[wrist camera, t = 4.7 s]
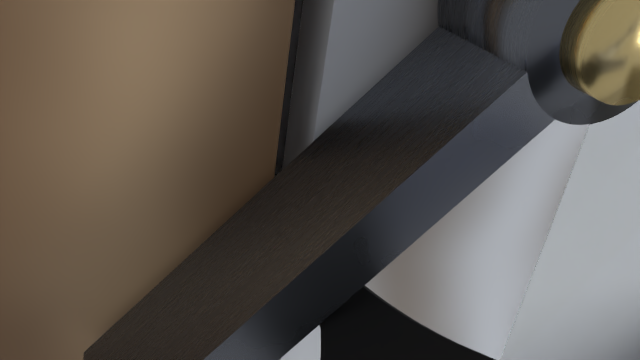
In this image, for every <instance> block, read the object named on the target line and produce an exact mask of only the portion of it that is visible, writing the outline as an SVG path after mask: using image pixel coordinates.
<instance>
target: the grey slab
mask: <svg viewBox="0 0 640 360" xmlns="http://www.w3.org/2000/svg"><path fill="white" fill-rule="evenodd" d="M294 6H295V0H0V360H83V356H84V352H85V351H86V350H87V349H88V348H89V347H90V346H91V345H92V344H93V343H94V342H95V341H97V340H98V339H99V338H100V337H101V336H102V335H103V334H104V333H105V332H106V331H107V330H109V329H110V328H111V327H112V326H113V325H114V324H115V323H116V322H117V321H118V320H119V319H121V318H122V317H123V316H124V315H125V314H126V313H127V312H128V311H129V310H130V309H131V308H132V307H134V306H135V305H136V304H137V303H138V302H139V301H140V300H141V299H142V298H143V297H144V296H146V295H147V294H148V293H149V292H150V291H151V290H152V289H153V288H154V287H155V286H156V285H158V284H159V283H160V282H161V281H162V280H163V279H164V278H165V277H166V276H167V275H168V274H170V273H171V272H172V271H173V270H174V269H175V268H176V267H177V266H178V265H179V264H180V263H182V262H183V261H184V260H185V259H186V258H187V257H188V256H189V255H190V254H191V253H192V252H193V251H195V250H196V249H197V248H198V247H199V246H200V245H201V244H202V243H203V242H204V241H205V240H207V239H208V238H209V237H210V236H211V235H212V234H213V233H214V232H215V231H216V230H217V229H219V228H220V227H221V226H222V225H223V224H224V223H225V222H226V221H227V220H228V219H229V218H231V217H232V216H233V215H234V214H235V213H236V212H237V211H238V210H239V209H240V208H241V207H243V206H244V205H245V204H246V203H247V202H248V201H249V200H250V199H251V198H252V197H253V196H254V195H256V194H257V193H258V192H259V191H260V190H261V189H262V188H263V187H264V186H265V185H266V184H268V183H269V182H270V181H271V180H272V179H273V178H274V174H275V166H276V157H277V149H278V141H279V132H280V124H281V115H282V107H283V99H284V90H285V82H286V73H287V65H288V56H289V48H290V40H291V31H292V23H293V14H294ZM438 27H439V24H438V0H303V6H302V14H301V22H300V30H299V38H298V46H297V54H296V62H295V70H294V78H293V86H292V94H291V102H290V110H289V118H288V126H287V134H286V142H285V150H284V158H283V166H282V170H283V169H284V168H285V167H286V166H287V165H288V164H289V163H290V162H292V161H293V160H294V159H295V158H296V157H297V156H298V155H299V154H300V153H301V152H302V151H304V150H305V149H306V148H307V147H308V146H309V145H310V144H311V143H312V142H313V141H314V140H315V139H317V138H318V137H319V136H320V135H321V134H322V133H323V132H324V131H325V130H326V129H327V128H329V127H330V126H331V125H332V124H333V123H334V122H335V121H336V120H337V119H338V118H339V117H341V116H342V115H343V114H344V113H345V112H346V111H347V110H348V109H349V108H350V107H351V106H353V105H354V104H355V103H356V102H357V101H358V100H359V99H360V98H361V97H362V96H363V95H365V94H366V93H367V92H368V91H369V90H370V89H371V88H372V87H373V86H374V85H375V84H376V83H378V82H379V81H380V80H381V79H382V78H383V77H384V76H385V75H386V74H387V73H388V72H390V71H391V70H392V69H393V68H394V67H395V66H396V65H397V64H398V63H399V62H400V61H402V60H403V59H404V58H405V57H406V56H407V55H408V54H409V53H410V52H411V51H412V50H414V49H415V48H416V47H417V46H418V45H419V44H420V43H421V42H422V41H423V40H424V39H426V38H427V37H428V36H429V35H430V34H431V33H432V32H433V31H434V30H435V29H436V28H438ZM589 126H590V124H587V125H572V124H567V123H563V122H560V121H558V120H554V121H553V122H552V123H551V124H550V125H548V126H547V127H546V128H545V129H544V130H543V131H541V132H540V133H539V134H538V135H537V136H536V137H535V138H533V139H532V140H531V141H530V142H529V143H528V144H527V145H525V146H524V147H523V148H522V149H521V150H520V151H518V152H517V153H516V154H515V155H514V156H513V157H512V158H510V159H509V160H508V161H507V162H506V163H505V164H504V165H502V166H501V167H500V168H499V169H498V170H497V171H495V172H494V173H493V174H492V175H491V176H490V177H489V178H487V179H486V180H485V181H484V182H483V183H482V184H481V185H479V186H478V187H477V188H476V189H475V190H474V191H473V192H471V193H470V194H469V195H468V196H467V197H466V198H464V199H463V200H462V201H461V202H460V203H459V204H458V205H456V206H455V207H454V208H453V209H452V210H451V211H450V212H448V213H447V214H446V215H445V216H444V217H443V218H441V219H440V220H439V221H438V222H437V223H436V224H435V225H433V226H432V227H431V228H430V229H429V230H428V231H427V232H425V233H424V234H423V235H422V236H421V237H420V238H418V239H417V240H416V241H415V242H414V243H413V244H412V245H410V246H409V247H408V248H407V249H406V250H405V251H404V252H402V253H401V254H400V255H399V256H398V257H397V258H395V259H394V260H393V261H392V262H391V263H390V264H389V265H387V266H386V267H385V268H384V269H383V270H382V271H381V272H379V273H378V274H377V275H376V276H375V277H374V278H373V279H371V280H370V281H369V282H368V283H367V284H366V285H365V286H366V287H368V288H369V289H370V290H372V291H373V292H374V293H375V294H377V295H378V296H379V297H381V298H382V299H383V300H385V301H386V302H388V303H389V304H391V305H392V306H394V307H395V308H397V309H398V310H400V311H401V312H403V313H404V314H406V315H407V316H409V317H410V318H412V319H414V320H415V321H417V322H419V323H420V324H422V325H424V326H426V327H427V328H429V329H431V330H433V331H435V332H436V333H438V334H440V335H442V336H444V337H446V338H448V339H450V340H452V341H454V342H456V343H458V344H461V345H463V346H465V347H468V348H470V349H472V350H475V351H477V352H479V353H482V354H484V355H486V356H489V357H491V358H493V359H496V360H500V359H501V357H502V354H503V351H504V349H505V346H506V344H507V341H508V338H509V336H510V333H511V330H512V328H513V325H514V323H515V320H516V317H517V315H518V312H519V309H520V307H521V304H522V302H523V299H524V296H525V294H526V291H527V288H528V286H529V283H530V281H531V278H532V275H533V273H534V270H535V267H536V265H537V262H538V260H539V257H540V254H541V252H542V249H543V246H544V244H545V241H546V239H547V236H548V233H549V231H550V228H551V225H552V223H553V220H554V217H555V215H556V212H557V210H558V207H559V204H560V202H561V199H562V196H563V194H564V191H565V189H566V186H567V183H568V181H569V178H570V175H571V173H572V170H573V168H574V165H575V162H576V160H577V157H578V154H579V152H580V149H581V147H582V144H583V141H584V139H585V136H586V133H587V131H588V128H589ZM320 358H321V329H320V326H319V325H318V326H317V327H316V328H315V329H314V330H313V331H312V332H310V333H309V334H308V335H307V336H306V337H305V338H304V339H302V340H301V341H300V342H299V343H298V344H297V345H296V346H294V347H293V348H292V349H291V350H290V351H289V352H287V353H286V354H285V355H284V356H283V357H282V358H281V359H279V360H320Z"/></svg>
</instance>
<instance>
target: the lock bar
mask: <svg viewBox="0 0 640 360" xmlns="http://www.w3.org/2000/svg"><path fill="white" fill-rule="evenodd" d="M438 24H439V27H438V28H436V29H435V30H434V31H433V32H432V33H431V34H430V35H429V36H428V37H427V38H426V39H424V40H423V41H422V42H421V43H420V44H419V45H418V46H417V47H416V48H415V49H414V50H412V51H411V52H410V53H409V54H408V55H407V56H406V57H405V58H404V59H403V60H402V61H400V62H399V63H398V64H397V65H396V66H395V67H394V68H393V69H392V70H391V71H390V72H388V73H387V74H386V75H385V76H384V77H383V78H382V79H381V80H380V81H379V82H378V83H376V84H375V85H374V86H373V87H372V88H371V89H370V90H369V91H368V92H367V93H366V94H365V95H363V96H362V97H361V98H360V99H359V100H358V101H357V102H356V103H355V104H354V105H353V106H351V107H350V108H349V109H348V110H347V111H346V112H345V113H344V114H343V115H342V116H341V117H339V118H338V119H337V120H336V121H335V122H334V123H333V124H332V125H331V126H330V127H329V128H327V129H326V130H325V131H324V132H323V133H322V134H321V135H320V136H319V137H318V138H317V139H315V140H314V141H313V142H312V143H311V144H310V145H309V146H308V147H307V148H306V149H305V150H304V151H302V152H301V153H300V154H299V155H298V156H297V157H296V158H295V159H294V160H293V161H292V162H290V163H289V164H288V165H287V166H286V167H285V168H284V169H283V170H282V171H281V172H280V173H278V174H277V175H276V176H275V177H274V178H273V179H272V180H271V181H270V182H269V183H268V184H266V185H265V186H264V187H263V188H262V189H261V190H260V191H259V192H258V193H257V194H256V195H254V196H253V197H252V198H251V199H250V200H249V201H248V202H247V203H246V204H245V205H244V206H243V207H241V208H240V209H239V210H238V211H237V212H236V213H235V214H234V215H233V216H232V217H231V218H229V219H228V220H227V221H226V222H225V223H224V224H223V225H222V226H221V227H220V228H219V229H217V230H216V231H215V232H214V233H213V234H212V235H211V236H210V237H209V238H208V239H207V240H205V241H204V242H203V243H202V244H201V245H200V246H199V247H198V248H197V249H196V250H195V251H193V252H192V253H191V254H190V255H189V256H188V257H187V258H186V259H185V260H184V261H183V262H182V263H180V264H179V265H178V266H177V267H176V268H175V269H174V270H173V271H172V272H171V273H170V274H168V275H167V276H166V277H165V278H164V279H163V280H162V281H161V282H160V283H159V284H158V285H156V286H155V287H154V288H153V289H152V290H151V291H150V292H149V293H148V294H147V295H146V296H144V297H143V298H142V299H141V300H140V301H139V302H138V303H137V304H136V305H135V306H134V307H132V308H131V309H130V310H129V311H128V312H127V313H126V314H125V315H124V316H123V317H122V318H121V319H119V320H118V321H117V322H116V323H115V324H114V325H113V326H112V327H111V328H110V329H109V330H107V331H106V332H105V333H104V334H103V335H102V336H101V337H100V338H99V339H98V340H97V341H95V342H94V343H93V344H92V345H91V346H90V347H89V348H88V349H87V350H86V351H85V352H84V356H83V360H279V359H281V358H282V357H283V356H284V355H285V354H286V353H287V352H289V351H290V350H291V349H292V348H293V347H294V346H296V345H297V344H298V343H299V342H300V341H301V340H302V339H304V338H305V337H306V336H307V335H308V334H309V333H310V332H312V331H313V330H314V329H315V328H316V327H317V326H318V325H320V324H321V323H322V322H323V321H324V320H325V319H327V318H328V317H329V316H330V315H331V314H332V313H333V312H335V311H336V310H337V309H338V308H339V307H340V306H341V305H343V304H344V303H345V302H346V301H347V300H348V299H350V298H351V297H352V296H353V295H354V294H355V293H356V292H358V291H359V290H360V289H361V288H362V287H363V286H364V285H366V284H367V283H368V282H369V281H370V280H371V279H373V278H374V277H375V276H376V275H377V274H378V273H379V272H381V271H382V270H383V269H384V268H385V267H386V266H387V265H389V264H390V263H391V262H392V261H393V260H394V259H395V258H397V257H398V256H399V255H400V254H401V253H402V252H404V251H405V250H406V249H407V248H408V247H409V246H410V245H412V244H413V243H414V242H415V241H416V240H417V239H418V238H420V237H421V236H422V235H423V234H424V233H425V232H427V231H428V230H429V229H430V228H431V227H432V226H433V225H435V224H436V223H437V222H438V221H439V220H440V219H441V218H443V217H444V216H445V215H446V214H447V213H448V212H450V211H451V210H452V209H453V208H454V207H455V206H456V205H458V204H459V203H460V202H461V201H462V200H463V199H464V198H466V197H467V196H468V195H469V194H470V193H471V192H473V191H474V190H475V189H476V188H477V187H478V186H479V185H481V184H482V183H483V182H484V181H485V180H486V179H487V178H489V177H490V176H491V175H492V174H493V173H494V172H495V171H497V170H498V169H499V168H500V167H501V166H502V165H504V164H505V163H506V162H507V161H508V160H509V159H510V158H512V157H513V156H514V155H515V154H516V153H517V152H518V151H520V150H521V149H522V148H523V147H524V146H525V145H527V144H528V143H529V142H530V141H531V140H532V139H533V138H535V137H536V136H537V135H538V134H539V133H540V132H541V131H543V130H544V129H545V128H546V127H547V126H548V125H550V124H551V123H552V122H553V121H554V120H558V121H560V122H563V123H567V124H572V125H587V124H593V123H597V122H601V121H604V120H607V119H609V118H612V117H614V116H616V115H618V114H619V113H621V112H623V111H625V110H626V109H628V108H629V107H631V106H632V105H633V104H635V103H636V102H637V101H638V100H640V0H438Z"/></svg>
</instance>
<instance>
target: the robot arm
mask: <svg viewBox="0 0 640 360" xmlns="http://www.w3.org/2000/svg"><path fill="white" fill-rule="evenodd" d="M319 326H320V329H321V358H320V360H496V359H493V358H491V357H489V356H486V355H484V354H482V353H479V352H477V351H475V350H472V349H470V348H468V347H465V346H463V345H461V344H458V343H456V342H454V341H452V340H450V339H448V338H446V337H444V336H442V335H440V334H438V333H436V332H435V331H433V330H431V329H429V328H427V327H426V326H424V325H422V324H420V323H419V322H417V321H415V320H414V319H412V318H410V317H409V316H407V315H406V314H404V313H403V312H401V311H400V310H398V309H397V308H395V307H394V306H392V305H391V304H389V303H388V302H386V301H385V300H383V299H382V298H381V297H379V296H378V295H377V294H375V293H374V292H373V291H372V290H370V289H369V288H368V287H366V286H365V285H364V286H363V287H362V288H361V289H360V290H359V291H358V292H356V293H355V294H354V295H353V296H352V297H351V298H350V299H348V300H347V301H346V302H345V303H344V304H343V305H341V306H340V307H339V308H338V309H337V310H336V311H335V312H333V313H332V314H331V315H330V316H329V317H328V318H327V319H325V320H324V321H323V322H322V323H321V324H320V325H319Z"/></svg>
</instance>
